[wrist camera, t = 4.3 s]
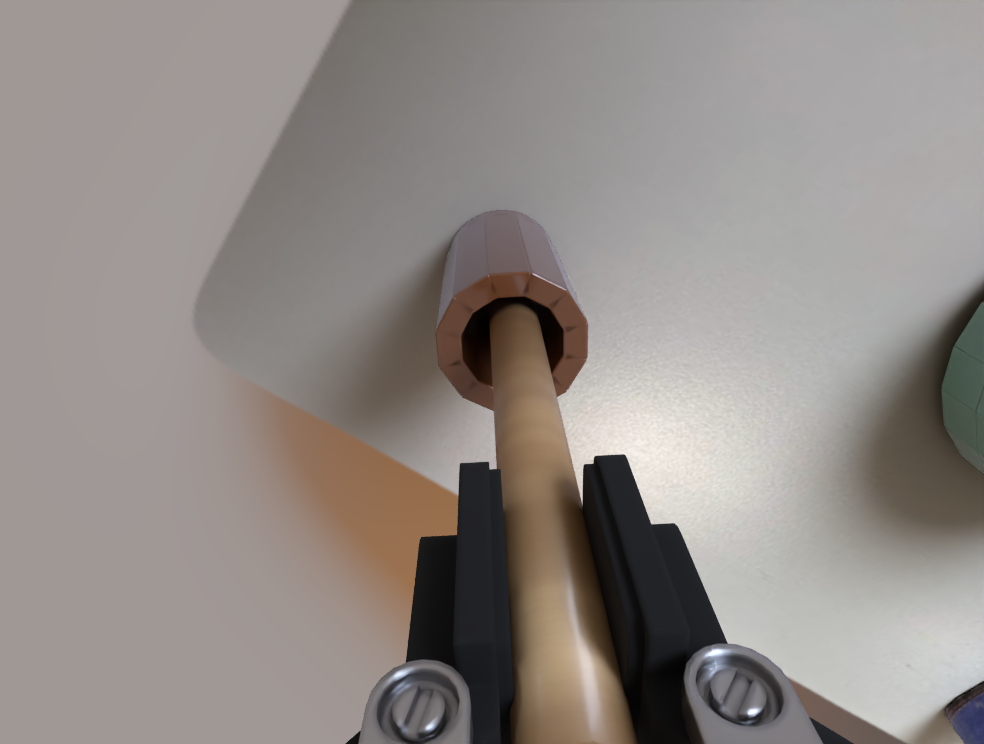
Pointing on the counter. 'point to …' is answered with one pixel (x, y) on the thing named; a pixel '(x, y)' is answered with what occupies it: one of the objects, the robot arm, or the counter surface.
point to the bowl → (966, 392)
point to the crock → (502, 274)
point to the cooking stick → (548, 554)
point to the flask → (968, 716)
